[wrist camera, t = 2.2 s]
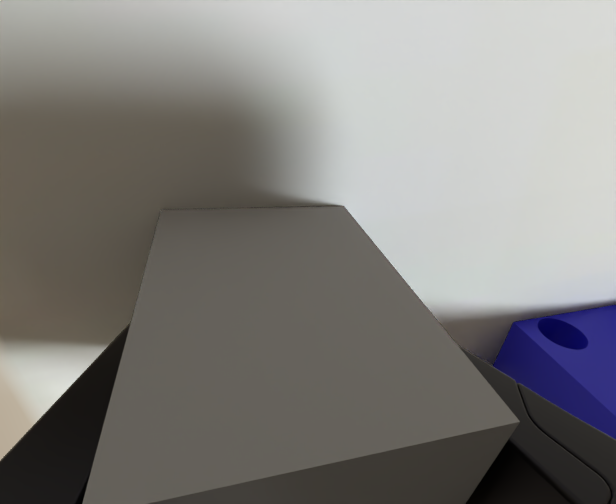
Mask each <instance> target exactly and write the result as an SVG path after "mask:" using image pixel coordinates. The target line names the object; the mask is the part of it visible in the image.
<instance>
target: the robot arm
mask: <svg viewBox="0 0 616 504" xmlns="http://www.w3.org/2000/svg"><path fill="white" fill-rule="evenodd" d="M130 324H131V323H130ZM130 324H129V325H128V326H127V327H126V328H125V329H124V330H123V331H122V332H121V333H120V334H119V335H118V336H117V337H116V338H115V340H114V341H113V342H112V343H111V344H110V345H109V346H108V347H107V348H106V349H105V350H104V351H103V352H102V353H101V354H100V355H99V356H98V358H97V359H96V360H95V361H94V362H93V363H92V364H91V365H90V366H89V367H88V368H87V369H86V370H85V371H84V372H83V373H82V375H81V376H80V377H79V378H78V379H77V380H76V381H75V382H74V383H73V384H72V385H71V386H70V387H69V388H68V389H67V390H66V392H65V393H64V394H63V395H62V396H61V397H60V398H59V399H58V400H57V401H56V402H55V403H54V404H53V405H52V406H51V407H50V409H49V410H48V411H47V412H46V413H45V414H44V415H43V416H42V417H41V418H40V419H39V420H38V421H37V422H36V423H35V424H34V425H33V427H32V428H31V429H30V430H29V431H28V432H27V433H26V434H25V435H24V436H23V437H22V438H21V439H20V440H19V441H18V443H17V444H16V445H15V446H14V447H13V448H12V449H11V450H10V451H9V452H8V453H7V454H6V455H5V456H4V457H3V458H2V459H1V461H0V504H82V503H83V499H84V496H85V492H86V488H87V484H88V481H89V477H90V473H91V469H92V466H93V462H94V458H95V454H96V451H97V447H98V443H99V440H100V436H101V432H102V428H103V425H104V421H105V417H106V413H107V410H108V406H109V402H110V398H111V395H112V391H113V387H114V383H115V380H116V376H117V372H118V368H119V365H120V361H121V357H122V354H123V350H124V346H125V342H126V339H127V335H128V331H129V327H130ZM458 346H459V345H458ZM459 348H460V349H461V350H462V351H463V352H464V354H465V355H466V356H467V357H468V359H469V360H470V361H471V362H472V363H473V365H474V366H475V367H476V368H477V370H478V371H479V372H480V373H481V374H482V376H483V377H484V378H485V379H486V381H487V382H488V383H489V384H490V385H491V387H492V388H493V389H494V390H495V392H496V393H497V394H498V395H499V396H500V398H501V399H502V400H503V401H504V403H505V404H506V405H507V406H508V407H509V409H510V410H511V411H512V412H513V414H514V415H515V416H516V417H517V418H518V420H519V421H520V423H519V424H518V426H517V427H516V429H515V430H514V432H513V433H512V435H511V436H510V438H509V439H508V441H507V442H506V444H505V445H504V447H503V448H502V450H501V451H500V453H499V454H498V456H497V457H496V459H495V460H494V462H493V463H492V465H491V466H490V468H489V469H488V471H487V472H486V474H485V475H484V477H483V478H482V480H481V481H480V483H479V484H478V486H477V487H476V489H475V490H474V492H473V493H472V495H471V496H470V498H469V499H468V501H467V502H466V504H616V439H614V438H612V437H611V436H609V435H607V434H605V433H603V432H602V431H600V430H598V429H596V428H595V427H593V426H591V425H589V424H587V423H586V422H584V421H582V420H580V419H579V418H577V417H575V416H573V415H571V414H570V413H568V412H566V411H565V410H563V409H561V408H560V407H558V406H556V405H555V404H553V403H551V402H550V401H548V400H546V399H545V398H543V397H541V396H540V395H538V394H537V393H535V392H533V391H532V390H530V389H528V388H527V387H525V386H524V385H522V384H520V383H516V381H515V380H514V379H512V378H511V377H509V376H507V375H506V374H504V373H503V372H501V371H499V370H498V369H496V368H494V367H493V366H491V365H490V364H488V363H486V362H485V361H483V360H482V359H480V358H478V357H477V356H475V355H474V354H472V353H470V352H469V351H467V350H465V349H464V348H462V347H461V346H459Z"/></svg>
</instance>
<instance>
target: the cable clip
mask: <svg viewBox="0 0 616 504" xmlns="http://www.w3.org/2000/svg"><path fill="white" fill-rule="evenodd" d="M493 367H494V368H496V369H498V370H499V371H501V372H503V373H504V374H506V375H507V376H509V377H511V378H512V379H514V380H515V381H516V383H520V384H522V385H524V386H525V387H527V388H528V389H530V390H532V391H533V392H535V393H537V394H538V395H540V396H541V397H543V398H545V399H546V400H548V401H550V402H551V403H553V404H555V405H556V406H558V407H560V408H561V409H563V410H565V411H566V412H568V413H570V414H571V415H573V416H575V417H577V418H579V419H580V420H582V421H584V422H586V423H587V424H589V425H591V426H593V427H595V428H596V429H598V430H600V431H602V432H603V433H605V434H607V435H609V436H611V437H612V438H614V439H616V305H610V306H604V307H598V308H593V309H587V310H581V311H575V312H569V313H563V314H557V315H552V316H546V317H540V318H534V319H528V320H522V321H516V322H513V324H512V326H511V328H510V331H509V333H508V335H507V337H506V339H505V341H504V343H503V345H502V348H501V350H500V352H499V354H498V356H497V358H496V360H495V362H494V365H493Z"/></svg>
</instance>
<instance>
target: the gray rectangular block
mask: <svg viewBox="0 0 616 504" xmlns="http://www.w3.org/2000/svg"><path fill="white" fill-rule="evenodd" d="M519 423H520V421H519V420H518V418H517V417H516V416H515V415H514V414H513V412H512V411H511V410H510V409H509V407H508V406H507V405H506V404H505V403H504V401H503V400H502V399H501V398H500V396H499V395H498V394H497V393H496V392H495V390H494V389H493V388H492V387H491V385H490V384H489V383H488V382H487V381H486V379H485V378H484V377H483V376H482V374H481V373H480V372H479V371H478V370H477V368H476V367H475V366H474V365H473V363H472V362H471V361H470V360H469V359H468V357H467V356H466V355H465V354H464V352H463V351H462V350H461V349H460V348H459V346H458V345H457V344H456V343H455V341H454V340H453V339H452V338H451V337H450V335H449V334H448V333H447V332H446V330H445V329H444V328H443V327H442V326H441V324H440V323H439V322H438V321H437V319H436V318H435V317H434V316H433V315H432V313H431V312H430V311H429V310H428V308H427V307H426V306H425V305H424V304H423V302H422V301H421V300H420V299H419V297H418V296H417V295H416V294H415V293H414V291H413V290H412V289H411V288H410V286H409V285H408V284H407V283H406V282H405V280H404V279H403V278H402V277H401V275H400V274H399V273H398V272H397V271H396V269H395V268H394V267H393V266H392V264H391V263H390V262H389V261H388V260H387V258H386V257H385V256H384V255H383V253H382V252H381V251H380V250H379V248H378V247H377V246H376V245H375V244H374V242H373V241H372V240H371V239H370V237H369V236H368V235H367V234H366V233H365V231H364V230H363V229H362V228H361V226H360V225H359V224H358V223H357V222H356V220H355V219H354V218H353V217H352V215H351V214H350V213H349V212H348V211H347V209H346V208H345V207H344V206H323V207H271V208H220V209H168V210H161V211H160V215H159V219H158V223H157V226H156V230H155V234H154V238H153V241H152V245H151V249H150V253H149V256H148V260H147V264H146V268H145V271H144V275H143V279H142V282H141V286H140V290H139V294H138V297H137V301H136V305H135V309H134V312H133V316H132V320H131V324H130V327H129V331H128V335H127V339H126V342H125V346H124V350H123V354H122V357H121V361H120V365H119V368H118V372H117V376H116V380H115V383H114V387H113V391H112V395H111V398H110V402H109V406H108V410H107V413H106V417H105V421H104V425H103V428H102V432H101V436H100V440H99V443H98V447H97V451H96V454H95V458H94V462H93V466H92V469H91V473H90V477H89V481H88V484H87V488H86V492H85V496H84V499H83V503H82V504H466V502H467V501H468V499H469V498H470V496H471V495H472V493H473V492H474V490H475V489H476V487H477V486H478V484H479V483H480V481H481V480H482V478H483V477H484V475H485V474H486V472H487V471H488V469H489V468H490V466H491V465H492V463H493V462H494V460H495V459H496V457H497V456H498V454H499V453H500V451H501V450H502V448H503V447H504V445H505V444H506V442H507V441H508V439H509V438H510V436H511V435H512V433H513V432H514V430H515V429H516V427H517V426H518V424H519Z"/></svg>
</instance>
